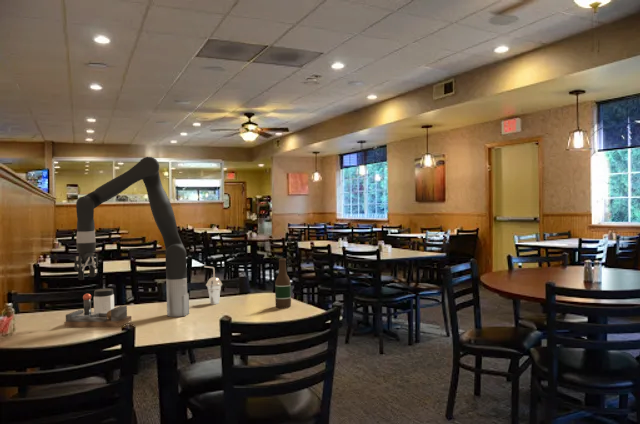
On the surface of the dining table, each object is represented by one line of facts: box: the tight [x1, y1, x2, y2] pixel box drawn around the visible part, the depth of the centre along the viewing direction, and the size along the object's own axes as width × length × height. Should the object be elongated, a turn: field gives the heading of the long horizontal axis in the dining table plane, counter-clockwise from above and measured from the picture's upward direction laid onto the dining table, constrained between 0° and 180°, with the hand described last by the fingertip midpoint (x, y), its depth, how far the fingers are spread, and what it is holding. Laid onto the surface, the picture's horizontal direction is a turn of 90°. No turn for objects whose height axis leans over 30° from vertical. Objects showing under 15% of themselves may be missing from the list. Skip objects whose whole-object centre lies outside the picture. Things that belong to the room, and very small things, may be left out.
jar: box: [93, 288, 115, 313], centre depth 231 cm, size 9×8×12 cm
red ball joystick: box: [77, 293, 99, 317], centre depth 214 cm, size 7×7×11 cm
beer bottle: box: [274, 257, 292, 309], centre depth 242 cm, size 8×8×24 cm
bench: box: [63, 305, 132, 328], centre depth 214 cm, size 24×12×7 cm, turn 85°
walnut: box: [107, 310, 111, 319], centre depth 213 cm, size 4×4×4 cm
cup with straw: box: [203, 265, 223, 305], centre depth 254 cm, size 8×9×20 cm
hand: (86, 278), depth 214 cm, fingers open, 8 cm apart
